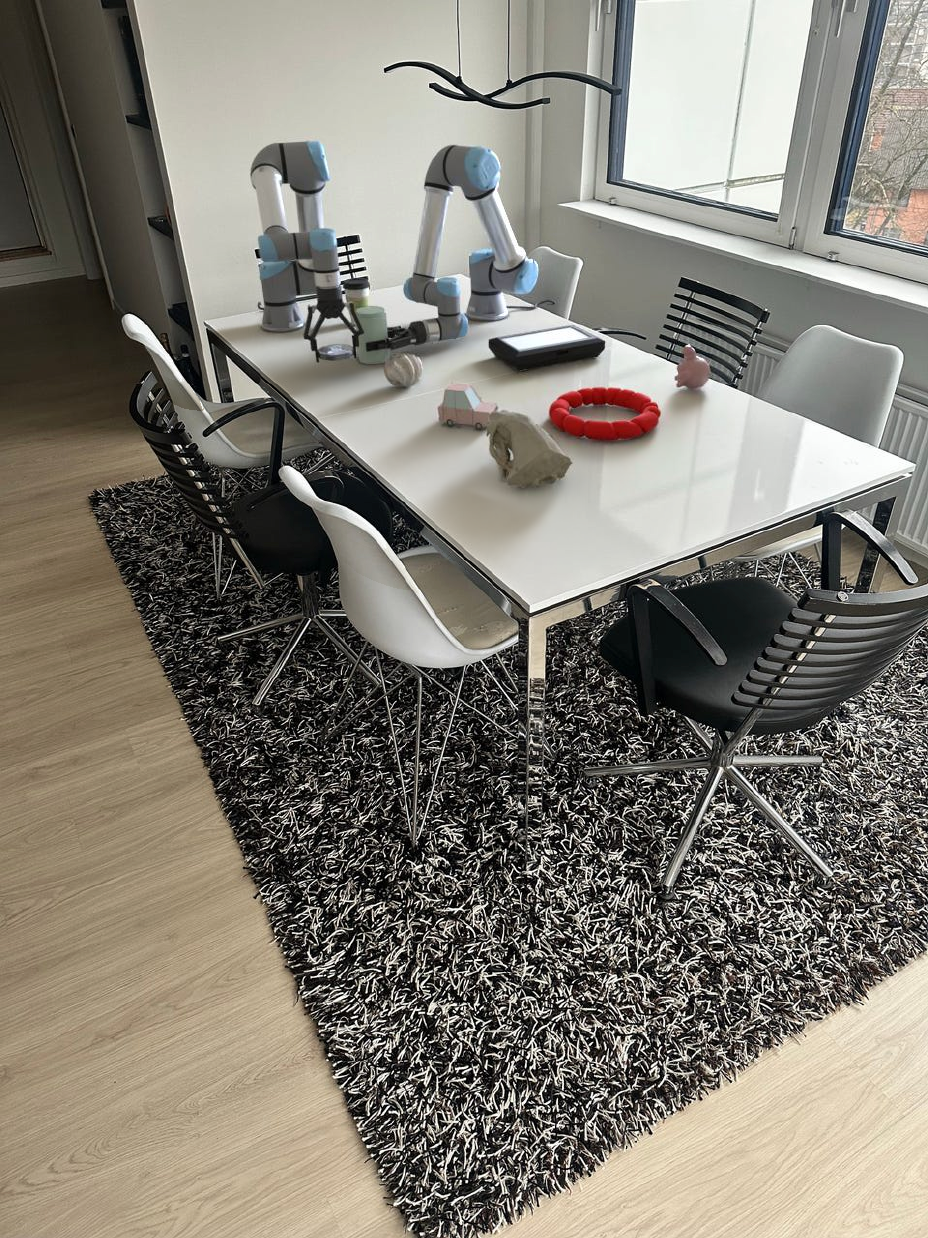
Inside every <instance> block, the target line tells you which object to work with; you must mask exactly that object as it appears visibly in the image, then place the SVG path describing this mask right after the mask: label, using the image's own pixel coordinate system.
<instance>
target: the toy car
mask: <svg viewBox="0 0 928 1238" xmlns="http://www.w3.org/2000/svg"><path fill="white" fill-rule="evenodd" d="M498 409H499V404H498V403H497V402H490V401H489V402H487V401H483V397H481V396H480V395H479V394H478V393H477V391H476V390H475V389H474V386H472V384H469V383H459V382H451V383H450V384H449V385H448V386H447V387H446V388H445V389H444V394H443V399H442V403H440V404H439V405H438V406H437V413H438V421H439V422H443V423H446V425H447V426H448V427H452V426H454V425H455V424H461V425H469V426H473V427H475V429H476V430H479V431H480V430H481V429H483V428H485V427H486V428H487V423H488V422H490V414H491V413H492V412H496V411H499V410H498Z"/></svg>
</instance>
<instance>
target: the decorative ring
mask: <svg viewBox="0 0 928 1238" xmlns="http://www.w3.org/2000/svg"><path fill="white" fill-rule="evenodd" d="M583 405H584V406H586V407H587V406H591V405H593V406H604V405H608V406H614V407H619V408H624V409H628V410H632V411H635V412H636V413H638V414H639V415H637V416H635V417H632V418H631V419H630V420H625V419H624V420H623V419H622V420H614V421H611V422H609V421H607V420H606V421H605V420H593V419H587V420H586V421H585V419H584V418H582V417H579V416H577V415H573V414H571V413H570V410H571V409H579V408H581V407H582V406H583ZM548 416H549V419H550V422H551V423H552V425H553V426H554V427H555V428H556V429H558V430H559V431H561V432H563V433H567V434H568V435H569V436H573V437H576V438H580V439H582V438H583V437H585V438H586V439H587V440H591V441H601V442H602V441H603V442H608V441H609V442H610V441H611V442H612V441H615V442H616V441H618V440H630V439H634V438H638V437H641V436H642V434H647V433H650V432H651V431H653V430H654V429H655V428H656V427H657V426H658V424H659V422H660V421H659V420H660V417H661V410H660V408H659V405H658V403H657V402H656V401H652V399H651V397H649V396H648V395H646V394H644V393H642V392H635V391H634V390H632V389H628V388H624V389H622V388H620V387H613V386H612V387H611V386H610V387H608V388H606V387H604V386H594V387H585V388H584V387H583V388H580V389H578V390H571V391H568V392H565V393H563V394H561V395H560V396H558V397H557V398H556V400H554V401H552V403H551V404H550V407H549V409H548Z"/></svg>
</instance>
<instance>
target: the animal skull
mask: <svg viewBox="0 0 928 1238" xmlns="http://www.w3.org/2000/svg"><path fill="white" fill-rule="evenodd" d="M485 436H486V438H487V437H489V438H488V440H489V444H488V445H489V446H488V450H489V454H490V456H491V457H492V458H493V459H494V460H495V462H496V464H497V466H499V468H500V470H501V471H502V472H501V478H502V479H507V480H506V484H507V486H517V487H518V486H519V488H523V489H524V488H526V486H527V485H529V483H531V485H533V486H534V487H536V488H540V485H541V484H542V482H544V483H549V484H550V485H553V484H555V483H556V482H557V480H561V479H563V478H565V476H566V474H567V472H568V471H569V469H570V467H571V466H572V464H573V462H572V461H571V458H570V457H568V456H567V455H565V453H564V451H562V449H561V448H560V446H559V444H557V443H556V439H555V438H554V436H553V435H551V434H550V433H548V432H547V431H546V430H545V429H544V428H542V427H541V426H539V425H538V424H537V423H536V424H535V422H534V421H533V419H532V418H531V417H530V416H529V415H527V414H524V413H519V412H515V411H509V410H507V409H502V410H500V411H499V410H497V411H496V412H492V413H491V414H490V422H488V423H487V427H486V435H485ZM511 453H512V454H511ZM511 455H512V457H513V458H512V460H511ZM507 474H508V475H507Z"/></svg>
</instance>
